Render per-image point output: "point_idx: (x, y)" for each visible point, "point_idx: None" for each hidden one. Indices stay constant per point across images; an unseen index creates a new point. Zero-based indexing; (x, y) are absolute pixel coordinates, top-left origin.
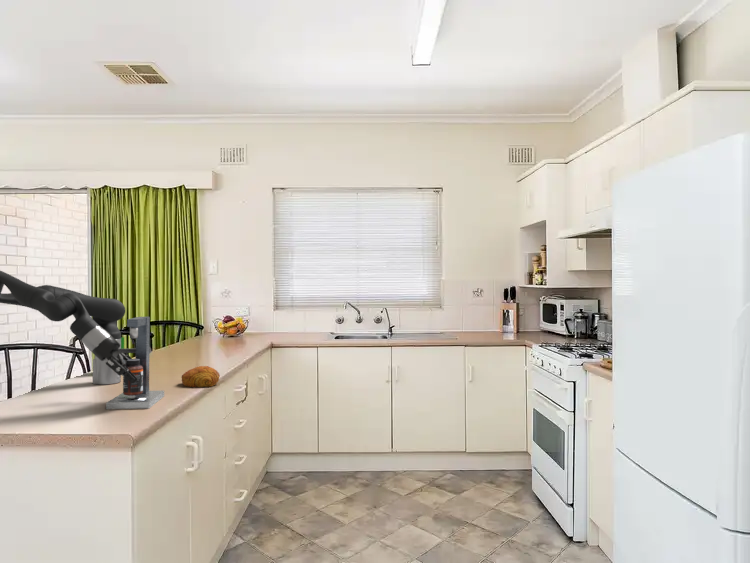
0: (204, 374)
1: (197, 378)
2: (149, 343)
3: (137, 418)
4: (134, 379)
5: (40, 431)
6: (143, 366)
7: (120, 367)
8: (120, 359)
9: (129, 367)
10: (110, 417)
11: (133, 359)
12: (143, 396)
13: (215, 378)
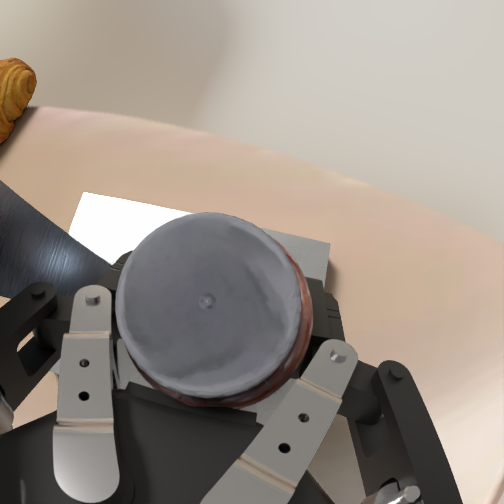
0: (8, 78)
1: (6, 101)
2: None
3: (453, 281)
4: (329, 299)
5: (486, 493)
6: (34, 236)
7: (420, 409)
8: (297, 477)
9: (297, 344)
10: (426, 377)
11: (187, 300)
12: None
13: (27, 65)
